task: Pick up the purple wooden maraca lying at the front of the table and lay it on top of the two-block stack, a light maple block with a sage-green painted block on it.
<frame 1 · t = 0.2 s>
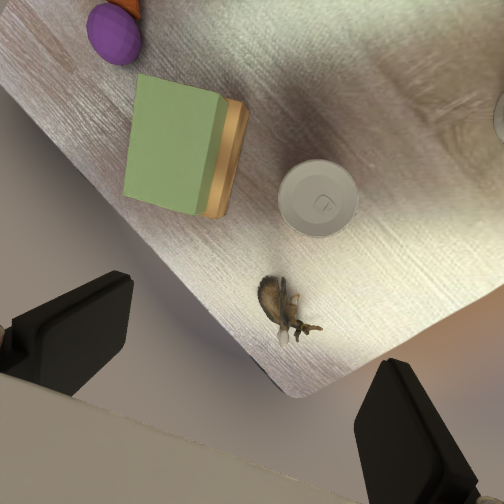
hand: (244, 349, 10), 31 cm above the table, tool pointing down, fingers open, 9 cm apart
eagle figurine: (285, 300, 43), on the table
canned food: (312, 194, 39), on the table
sage block: (182, 151, 35), point 5 cm above the table, touching maple block
maple block: (196, 154, 40), on the table, touching sage block
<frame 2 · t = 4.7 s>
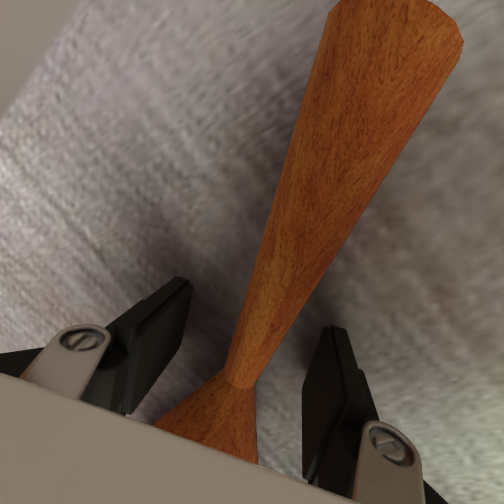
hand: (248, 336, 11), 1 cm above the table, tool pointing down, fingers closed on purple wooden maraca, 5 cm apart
purple wooden maraca: (254, 328, 12), on the table, touching gripper
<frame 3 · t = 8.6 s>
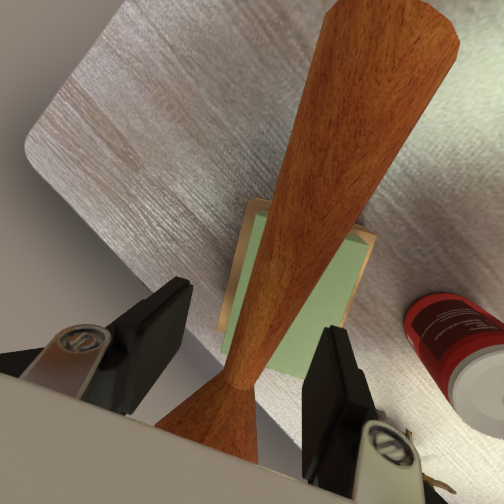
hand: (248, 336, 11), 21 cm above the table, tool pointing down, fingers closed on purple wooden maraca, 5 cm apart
eagle figurine: (392, 435, 35), on the table
purple wooden maraca: (254, 329, 12), point 21 cm above the table, touching gripper
canned food: (439, 322, 31), on the table
sage block: (289, 286, 27), point 5 cm above the table, touching maple block
maple block: (291, 271, 32), on the table, touching sage block
when the fingers open (10 cm above the table, at t = 12.7 s): purple wooden maraca stays where it is, resting on sage block.
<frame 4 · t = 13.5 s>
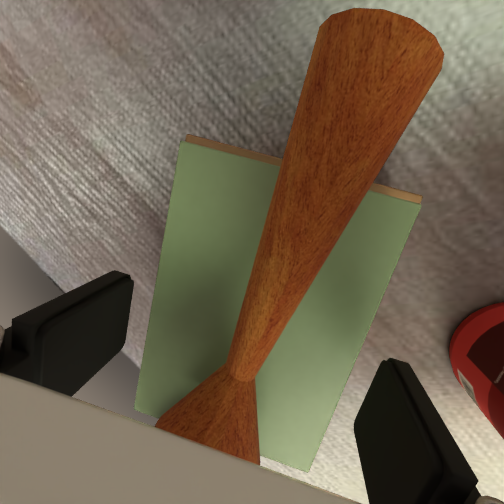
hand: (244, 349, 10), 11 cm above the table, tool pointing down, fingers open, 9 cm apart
purple wooden maraca: (255, 325, 12), point 9 cm above the table, touching sage block
sage block: (263, 290, 16), point 5 cm above the table, touching purple wooden maraca, maple block
maple block: (271, 265, 21), on the table, touching sage block
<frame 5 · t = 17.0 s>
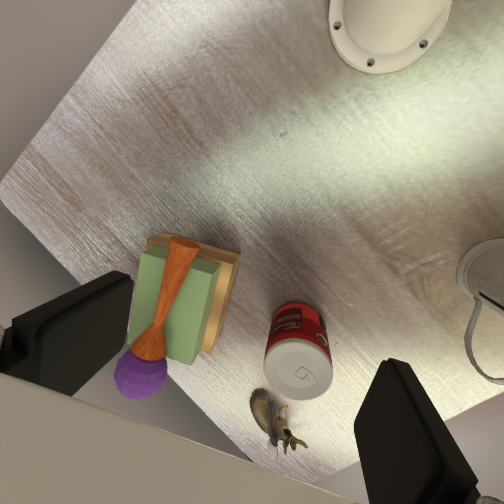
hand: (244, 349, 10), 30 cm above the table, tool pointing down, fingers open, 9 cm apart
eagle figurine: (275, 408, 47), on the table
purple wooden maraca: (168, 311, 35), point 9 cm above the table, touching sage block
canned food: (298, 324, 43), on the table
glass holder: (474, 285, 37), on the table
sage block: (180, 298, 39), point 5 cm above the table, touching purple wooden maraca, maple block
maple block: (193, 285, 44), on the table, touching sage block
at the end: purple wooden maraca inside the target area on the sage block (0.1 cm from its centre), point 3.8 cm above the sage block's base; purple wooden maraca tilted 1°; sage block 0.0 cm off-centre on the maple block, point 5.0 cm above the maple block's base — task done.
